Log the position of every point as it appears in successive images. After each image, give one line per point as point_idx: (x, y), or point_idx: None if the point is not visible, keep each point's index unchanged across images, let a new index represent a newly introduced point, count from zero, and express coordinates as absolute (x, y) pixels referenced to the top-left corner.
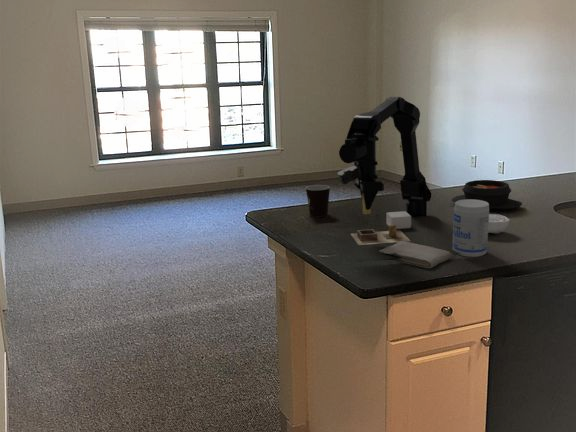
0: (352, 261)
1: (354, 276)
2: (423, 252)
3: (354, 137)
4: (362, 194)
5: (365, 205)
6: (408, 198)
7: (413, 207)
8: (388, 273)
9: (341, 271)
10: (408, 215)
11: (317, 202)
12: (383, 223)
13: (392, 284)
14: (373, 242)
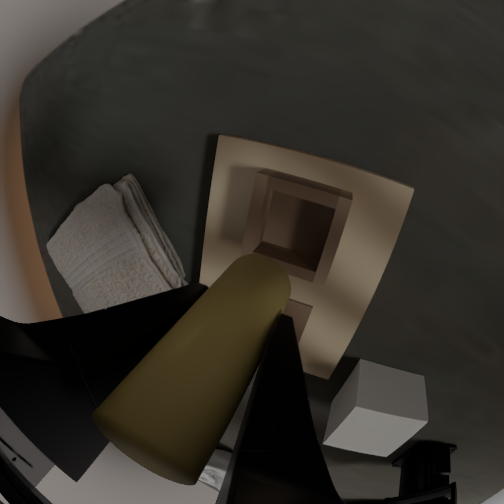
0: (121, 74)
1: (54, 68)
2: (79, 274)
3: None
4: (160, 386)
5: (173, 293)
6: (437, 491)
7: (418, 474)
8: (47, 147)
9: (80, 38)
10: (336, 444)
11: None
12: (460, 385)
13: (21, 136)
14: (226, 212)
